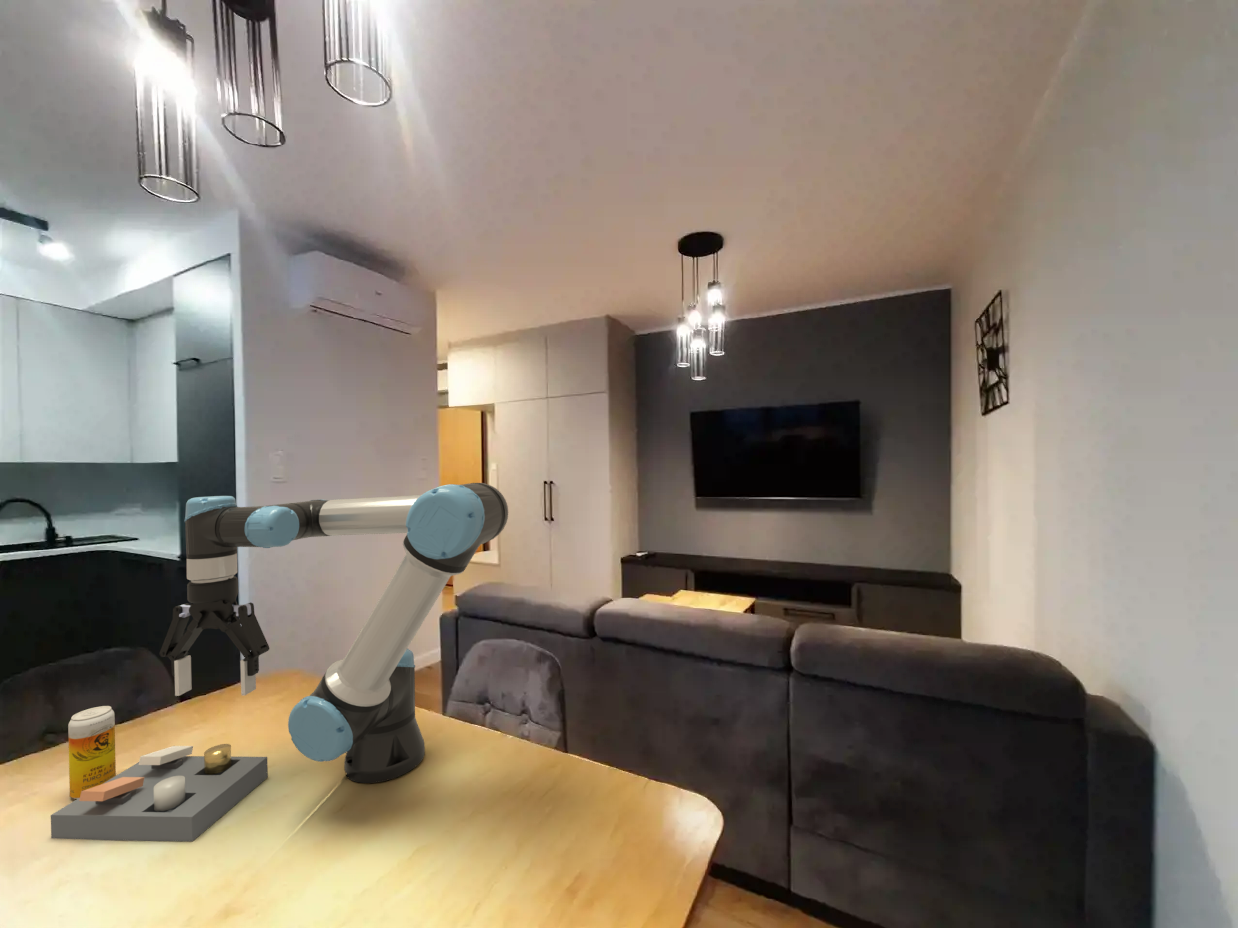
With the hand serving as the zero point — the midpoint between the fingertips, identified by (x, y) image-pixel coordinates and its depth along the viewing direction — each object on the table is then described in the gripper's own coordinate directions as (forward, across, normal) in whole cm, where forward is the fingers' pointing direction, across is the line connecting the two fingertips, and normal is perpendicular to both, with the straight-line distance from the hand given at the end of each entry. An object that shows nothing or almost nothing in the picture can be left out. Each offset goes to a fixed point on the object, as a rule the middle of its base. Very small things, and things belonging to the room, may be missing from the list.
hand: (216, 692), depth 97 cm
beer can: (+18, +23, +1) cm, 29 cm away
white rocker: (+12, +10, 0) cm, 16 cm away
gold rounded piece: (+14, 0, 0) cm, 14 cm away
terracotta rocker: (+12, +10, +10) cm, 19 cm away
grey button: (+14, 0, +10) cm, 17 cm away
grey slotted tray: (+18, +5, +5) cm, 19 cm away
